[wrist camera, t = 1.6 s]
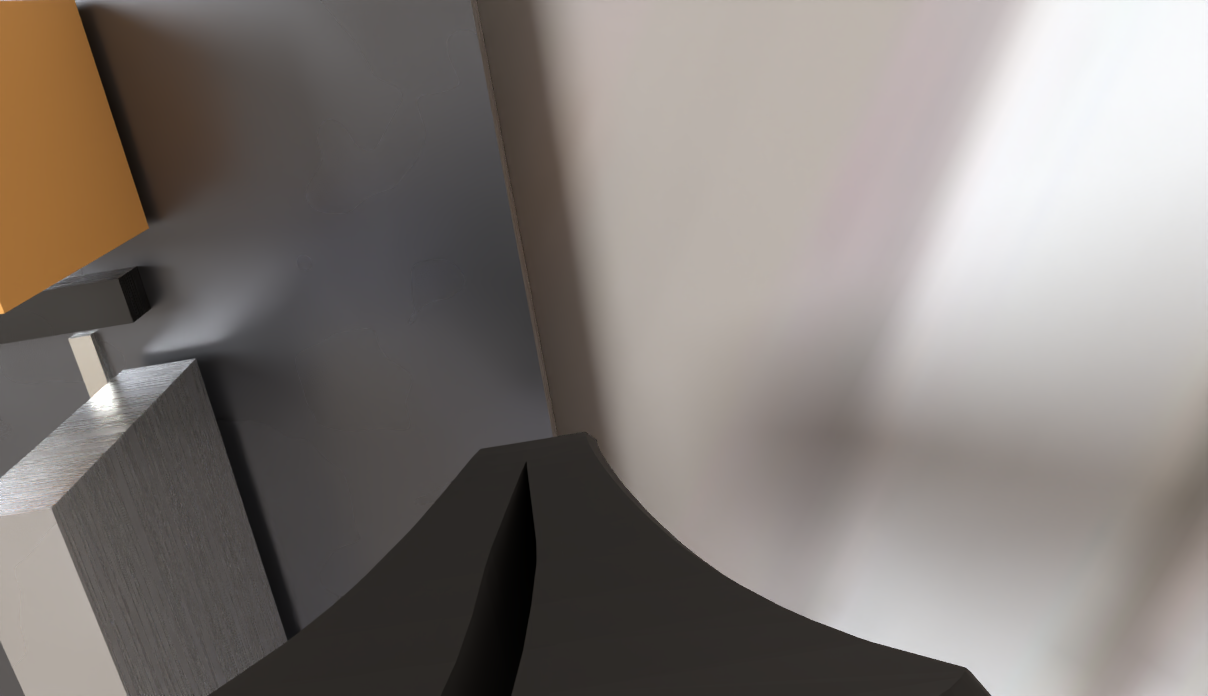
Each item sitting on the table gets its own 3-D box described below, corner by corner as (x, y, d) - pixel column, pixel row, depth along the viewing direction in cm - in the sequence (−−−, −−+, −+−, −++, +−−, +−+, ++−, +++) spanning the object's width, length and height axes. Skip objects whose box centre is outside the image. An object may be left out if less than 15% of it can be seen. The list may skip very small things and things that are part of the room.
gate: (326, 761, 15) (255, 1009, 12) (264, 771, 15) (173, 1021, 12) (195, 358, 13) (51, 508, 9) (122, 370, 13) (-54, 525, 9)
